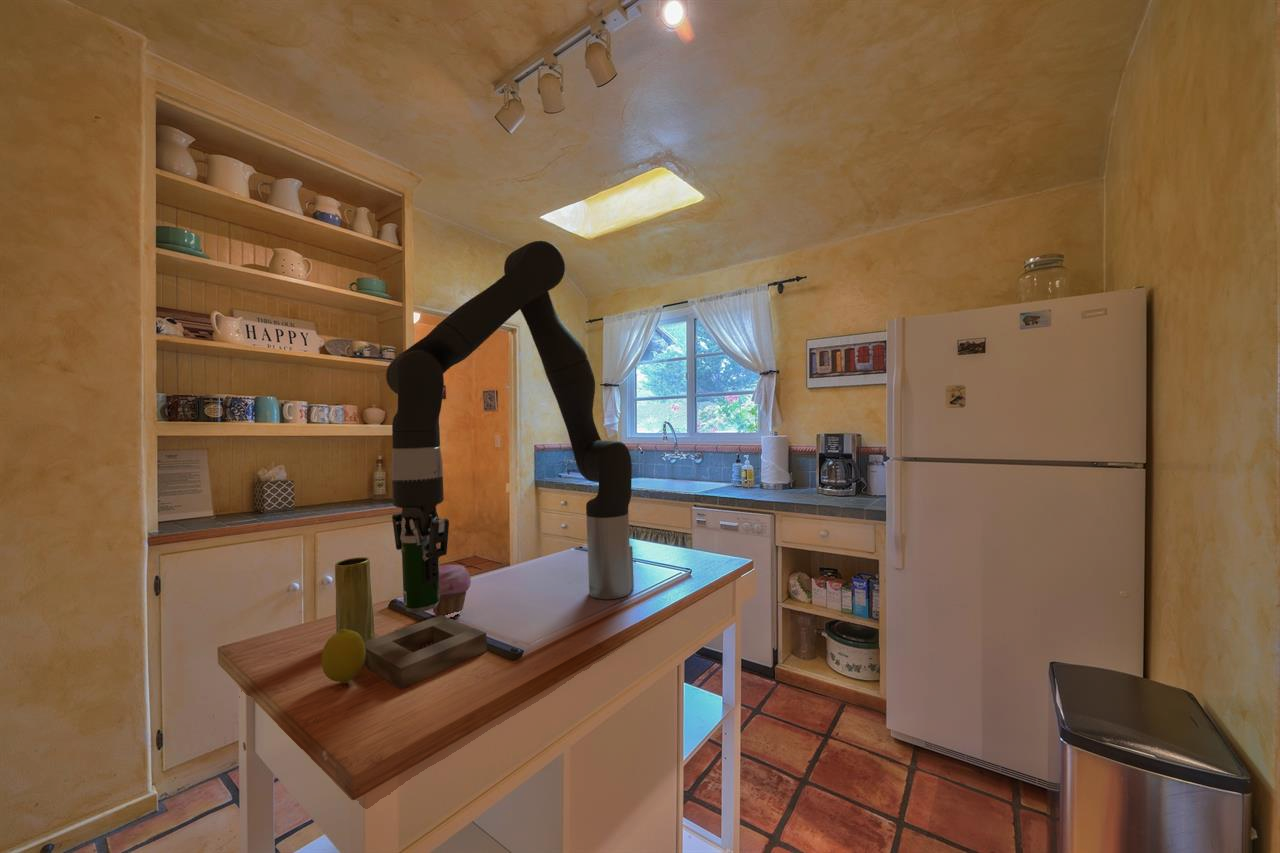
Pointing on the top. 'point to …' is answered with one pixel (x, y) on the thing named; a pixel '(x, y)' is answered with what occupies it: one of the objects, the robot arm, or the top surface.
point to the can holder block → (423, 650)
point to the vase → (354, 597)
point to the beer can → (417, 578)
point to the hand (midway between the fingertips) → (421, 579)
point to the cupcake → (452, 589)
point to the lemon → (343, 655)
